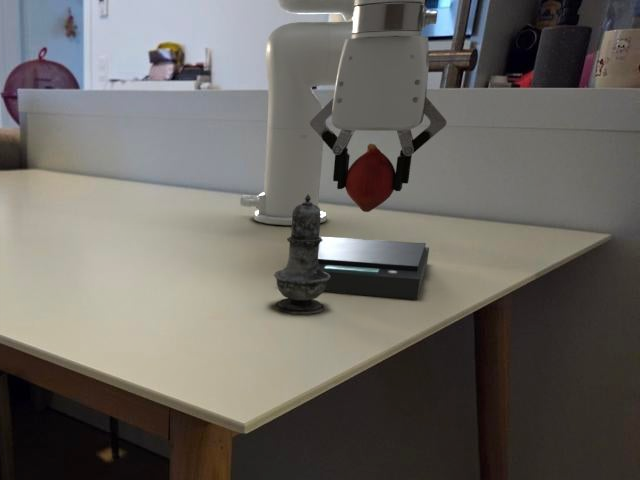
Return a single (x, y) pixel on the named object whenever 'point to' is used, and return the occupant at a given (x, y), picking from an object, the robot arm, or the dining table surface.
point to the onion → (370, 179)
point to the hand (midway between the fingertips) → (369, 187)
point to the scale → (373, 266)
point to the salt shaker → (302, 264)
